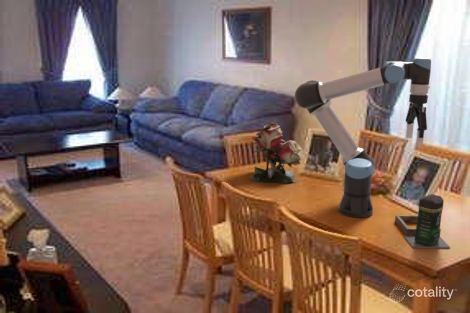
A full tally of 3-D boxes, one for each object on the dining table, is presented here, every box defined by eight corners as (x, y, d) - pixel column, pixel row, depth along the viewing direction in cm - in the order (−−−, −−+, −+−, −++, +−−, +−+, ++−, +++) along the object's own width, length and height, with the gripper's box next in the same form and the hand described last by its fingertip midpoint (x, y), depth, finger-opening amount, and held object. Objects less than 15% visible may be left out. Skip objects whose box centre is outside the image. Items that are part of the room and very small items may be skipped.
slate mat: (412, 248, 190) (412, 246, 190) (404, 237, 200) (404, 235, 200) (449, 248, 190) (449, 246, 190) (439, 237, 200) (439, 236, 200)
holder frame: (406, 236, 201) (407, 229, 200) (394, 221, 216) (395, 215, 215) (439, 236, 201) (440, 229, 200) (425, 221, 216) (426, 215, 215)
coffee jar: (431, 248, 188) (437, 202, 184) (411, 242, 193) (416, 197, 189) (441, 241, 195) (447, 195, 191) (421, 235, 200) (426, 191, 196)
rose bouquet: (304, 183, 267) (307, 128, 260) (249, 183, 267) (250, 127, 259) (298, 170, 292) (300, 119, 285) (247, 169, 292) (248, 119, 284)
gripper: (438, 97, 206) (433, 148, 212) (417, 90, 230) (412, 135, 236) (420, 97, 206) (415, 147, 212) (401, 90, 230) (397, 135, 236)
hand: (414, 141), depth 224 cm, fingers open, 13 cm apart
